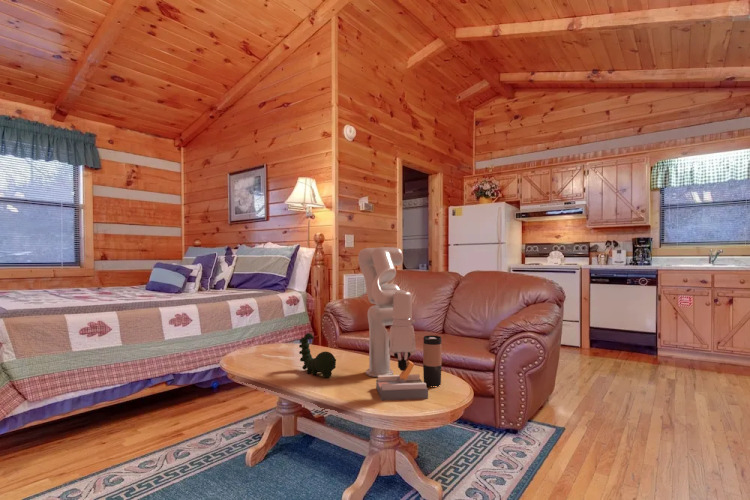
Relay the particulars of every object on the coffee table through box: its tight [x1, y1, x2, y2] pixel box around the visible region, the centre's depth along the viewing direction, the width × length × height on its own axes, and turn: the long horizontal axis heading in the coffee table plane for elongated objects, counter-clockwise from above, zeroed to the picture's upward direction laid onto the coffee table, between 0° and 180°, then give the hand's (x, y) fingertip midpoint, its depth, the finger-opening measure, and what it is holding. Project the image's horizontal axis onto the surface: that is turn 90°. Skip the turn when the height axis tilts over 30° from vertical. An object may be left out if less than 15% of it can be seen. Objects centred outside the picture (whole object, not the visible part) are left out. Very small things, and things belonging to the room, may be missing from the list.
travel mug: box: [422, 335, 443, 388], centre depth 169 cm, size 8×8×20 cm
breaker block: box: [375, 373, 429, 401], centre depth 158 cm, size 14×18×5 cm
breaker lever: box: [397, 359, 415, 383], centre depth 158 cm, size 4×2×9 cm, turn 7°
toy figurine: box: [298, 332, 337, 379], centre depth 183 cm, size 9×19×25 cm
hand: (402, 369), depth 158 cm, fingers closed
